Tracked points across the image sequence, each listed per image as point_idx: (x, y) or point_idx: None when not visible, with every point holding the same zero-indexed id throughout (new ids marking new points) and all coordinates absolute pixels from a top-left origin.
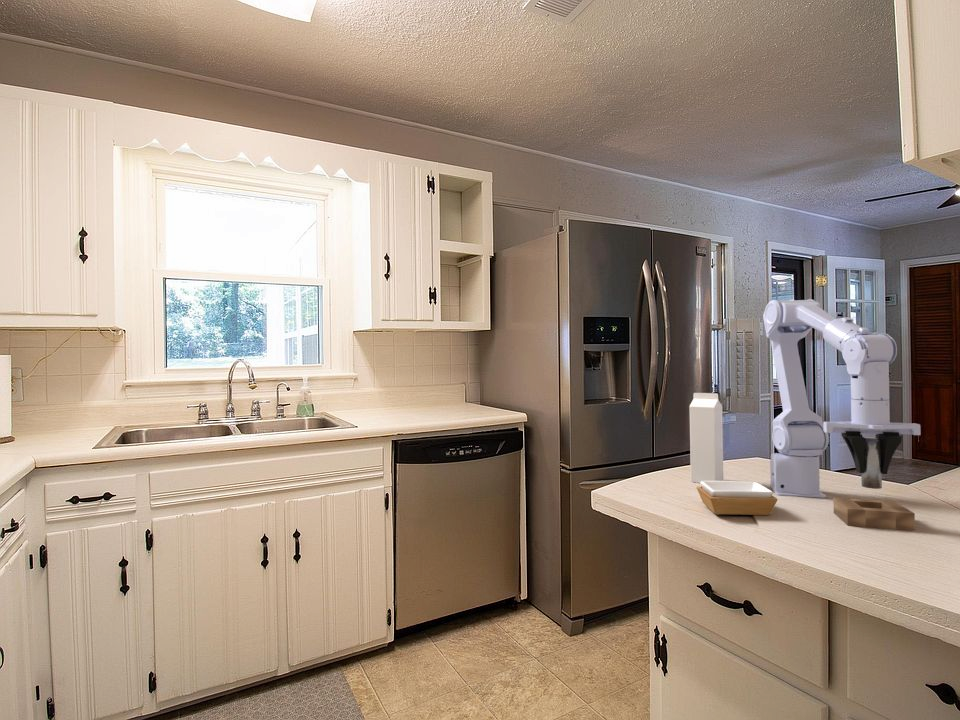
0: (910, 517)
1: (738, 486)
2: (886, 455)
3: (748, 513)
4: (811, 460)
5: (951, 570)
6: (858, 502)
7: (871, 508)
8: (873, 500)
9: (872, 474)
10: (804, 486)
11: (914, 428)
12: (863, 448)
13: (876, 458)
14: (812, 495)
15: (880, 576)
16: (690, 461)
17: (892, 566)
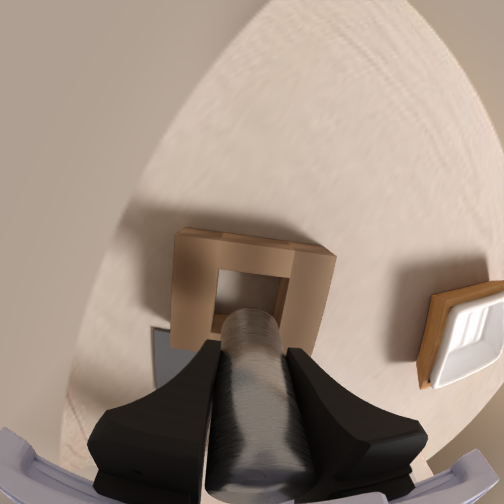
0: (187, 234)
1: (457, 368)
2: (203, 381)
3: (459, 289)
4: None
5: (263, 8)
6: None
7: (269, 269)
8: None
9: (263, 335)
10: None
11: (6, 465)
12: (331, 407)
13: (250, 379)
14: None
15: (378, 3)
16: (428, 466)
17: (349, 22)
